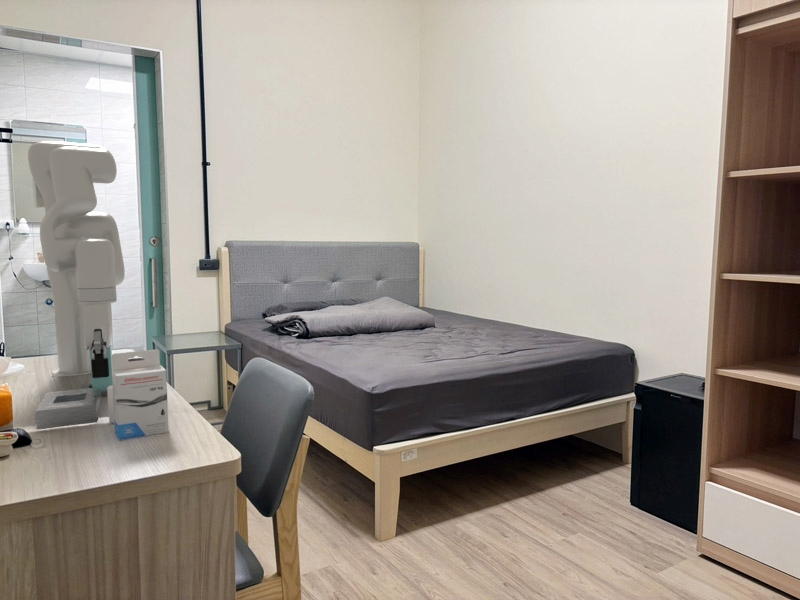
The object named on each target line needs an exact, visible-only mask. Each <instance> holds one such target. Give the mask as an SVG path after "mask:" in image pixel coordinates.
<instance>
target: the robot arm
mask: <svg viewBox="0 0 800 600" xmlns="http://www.w3.org/2000/svg"><path fill="white" fill-rule="evenodd" d="M27 160H28V167H29V170H30V174H31V177H32V179H33V180H34V183H35V185H36V186H37V188H38V190H39V192H40V195H41V197H42V199H43V204H44V210H45V214H44V216H43V218H42V220H41V223H40V226H39V227H40V228H39V239H40V245H41V252H42V257H43V260H44V264H45V266H46V271H47V277H48V279H49V285H50V288H51V294H52V302H53V314H54V323H55V325H54V326H55V336H56V337H55V338H56V352H57V353H56V354H57V365H58V368H56V369H54V370H52V371H51V377H52V378H60V377H62V378H63V377H68V376H69V377H71V376H74V377H75V376H81V375H82V376H84V375H91V365H92V375H91V378H92V377H93V378H102V377H108V376H109V364H108V358H107V348H109V347H110V345H111V346H112V341H113V340H112V339H113V320H112V318H113V317H112V316H113V315H112V304H113V303H116V302H118V299H117V296H118V295H117V287H116V286H119V285H121V284H122V283H123V282H124V280H125V274H126V273H125V271H126V270H125V264H124V263H125V262H124V257H123V251H122V246H121V240H120V233H119V230H118V229H119V228H118V224H117V222H116V220H115V218H114V217H113V215H111V214H109V213H107V212H104V211H103V212H101V211H94V210H95V209H96V207H97V205H98V200H97V199H98V197H97V194H96V190H95V185H94V184H112V183H114V181H115V180H116V178H117V174H118V173H117V172H118V171H117V164H116V160H115V157H114V156H113V154H112V153H111V151H110V150H109V149H108V148H106V147H104V146H102V145H99V144H91V143H81V142H80V143H78V142H69V141H55V140H54V141H53V140H52V141H51V140H45V141H43V140H42V141H37V142H35V143H32V144H31V145H30V146H29V147H28V151H27ZM91 347H92V359H91V361H90V348H91Z"/></svg>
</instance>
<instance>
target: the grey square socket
mask: <svg viewBox="0 0 800 600" xmlns="http://www.w3.org/2000/svg"><path fill="white" fill-rule="evenodd" d="M86 388H92V383H85V384H82V385H81V387H80V389H86ZM101 394H102V398H105V397H108V394H107V390H102V391H101Z"/></svg>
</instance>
